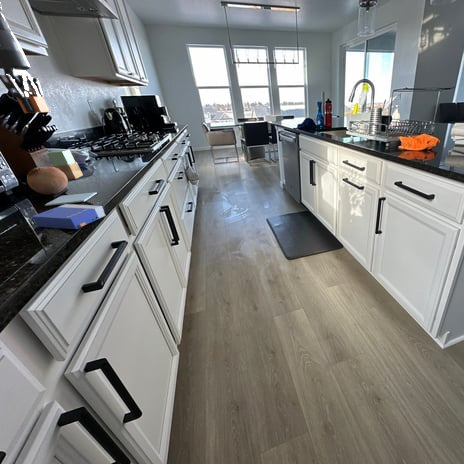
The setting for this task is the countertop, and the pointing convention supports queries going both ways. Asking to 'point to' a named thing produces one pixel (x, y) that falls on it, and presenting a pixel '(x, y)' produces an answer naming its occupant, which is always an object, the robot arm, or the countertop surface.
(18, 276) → the countertop surface
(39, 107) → the top cube
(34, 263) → the countertop surface
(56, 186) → the onion
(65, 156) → the middle block
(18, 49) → the robot arm
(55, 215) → the walkman
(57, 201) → the pad
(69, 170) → the bottom block
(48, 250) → the countertop surface
